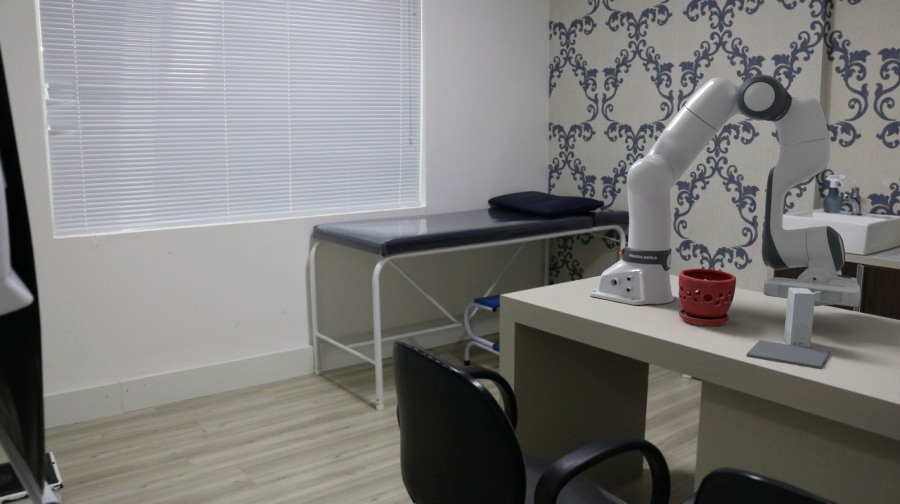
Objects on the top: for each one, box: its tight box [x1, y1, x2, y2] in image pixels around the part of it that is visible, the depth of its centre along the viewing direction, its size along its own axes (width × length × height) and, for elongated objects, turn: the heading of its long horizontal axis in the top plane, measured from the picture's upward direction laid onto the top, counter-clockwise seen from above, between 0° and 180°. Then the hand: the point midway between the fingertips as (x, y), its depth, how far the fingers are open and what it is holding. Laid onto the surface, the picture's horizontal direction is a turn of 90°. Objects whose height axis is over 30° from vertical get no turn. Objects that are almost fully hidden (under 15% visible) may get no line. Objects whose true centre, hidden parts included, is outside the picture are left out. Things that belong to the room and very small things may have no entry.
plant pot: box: [678, 268, 737, 327], centre depth 180 cm, size 13×13×12 cm
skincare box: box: [783, 288, 815, 348], centre depth 162 cm, size 6×4×12 cm
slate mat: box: [745, 339, 831, 369], centre depth 155 cm, size 14×12×1 cm
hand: (805, 297), depth 167 cm, fingers closed
